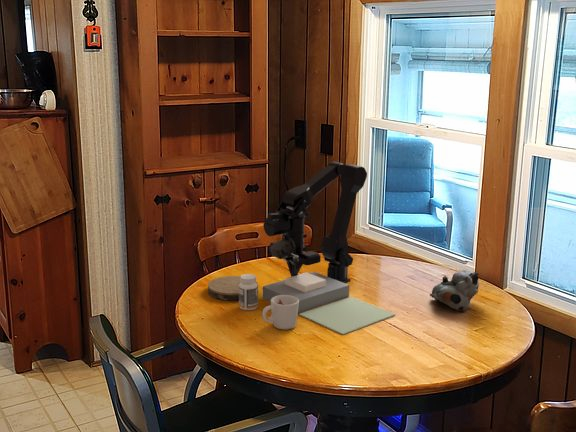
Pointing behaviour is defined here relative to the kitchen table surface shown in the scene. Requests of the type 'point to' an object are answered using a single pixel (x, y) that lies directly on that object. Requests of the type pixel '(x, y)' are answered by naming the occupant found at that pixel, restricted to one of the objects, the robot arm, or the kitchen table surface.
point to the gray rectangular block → (309, 293)
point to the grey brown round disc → (225, 288)
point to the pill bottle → (248, 292)
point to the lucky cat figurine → (457, 290)
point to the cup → (282, 311)
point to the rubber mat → (347, 315)
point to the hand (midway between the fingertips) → (293, 278)
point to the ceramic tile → (305, 282)
